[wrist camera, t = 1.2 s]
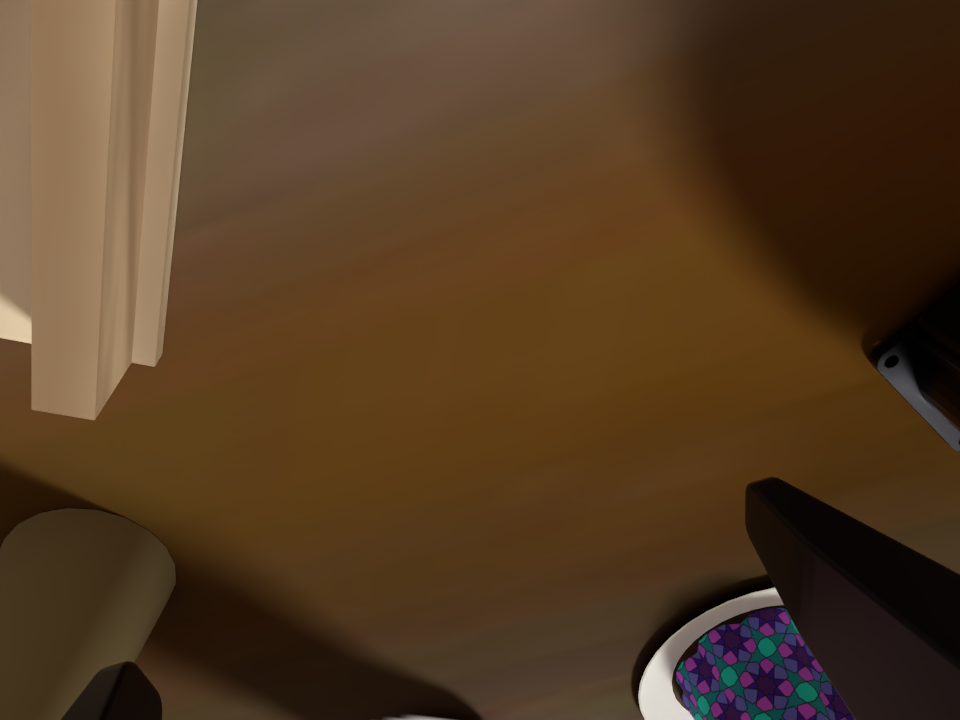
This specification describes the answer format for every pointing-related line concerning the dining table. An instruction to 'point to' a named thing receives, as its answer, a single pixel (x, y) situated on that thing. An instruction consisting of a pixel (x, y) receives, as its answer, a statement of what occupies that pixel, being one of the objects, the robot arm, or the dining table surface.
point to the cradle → (89, 186)
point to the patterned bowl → (740, 669)
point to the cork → (74, 605)
